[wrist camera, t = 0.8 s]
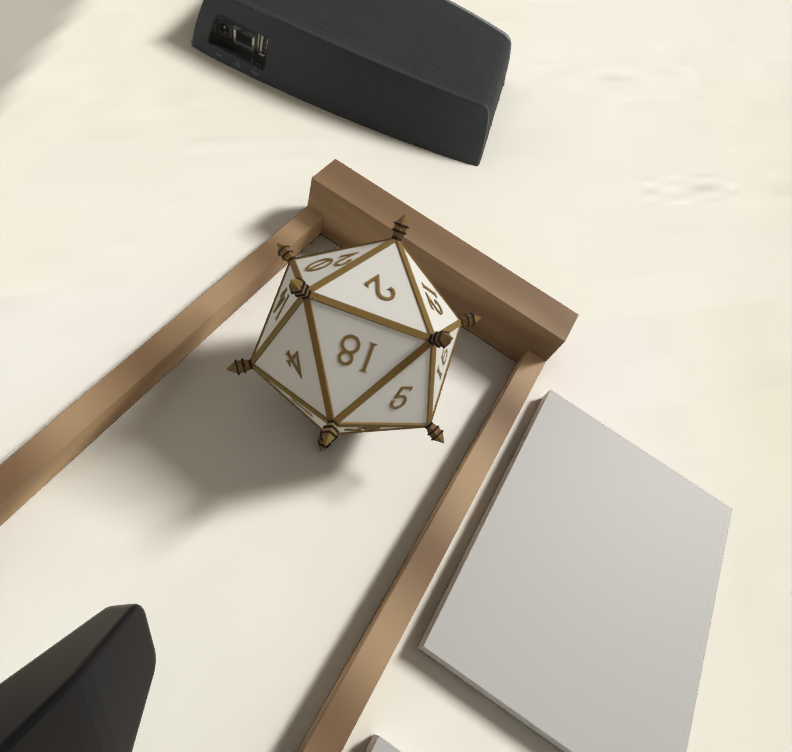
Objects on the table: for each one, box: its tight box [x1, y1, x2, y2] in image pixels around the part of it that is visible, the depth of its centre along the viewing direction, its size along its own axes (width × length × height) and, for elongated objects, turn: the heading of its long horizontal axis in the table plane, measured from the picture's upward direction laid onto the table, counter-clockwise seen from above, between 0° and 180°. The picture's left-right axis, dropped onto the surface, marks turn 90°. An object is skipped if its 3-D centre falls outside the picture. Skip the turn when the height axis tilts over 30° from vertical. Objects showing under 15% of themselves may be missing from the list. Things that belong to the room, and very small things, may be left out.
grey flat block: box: [365, 390, 732, 752], centre depth 17 cm, size 26×10×6 cm, turn 149°
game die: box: [226, 214, 482, 451], centre depth 20 cm, size 9×8×10 cm
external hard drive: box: [191, 0, 511, 166], centre depth 36 cm, size 13×19×4 cm
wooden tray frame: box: [0, 159, 578, 752], centre depth 19 cm, size 28×14×6 cm, turn 149°
